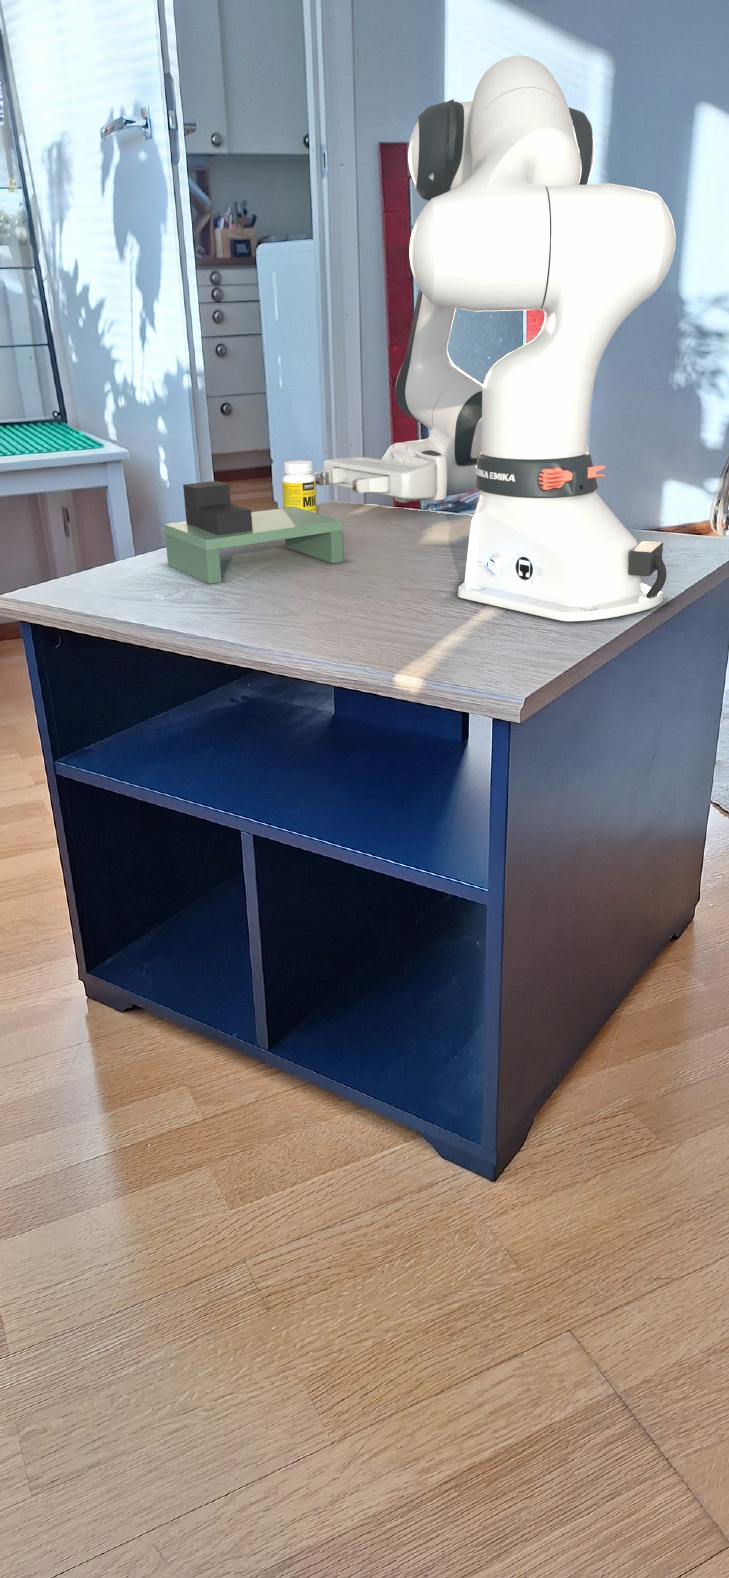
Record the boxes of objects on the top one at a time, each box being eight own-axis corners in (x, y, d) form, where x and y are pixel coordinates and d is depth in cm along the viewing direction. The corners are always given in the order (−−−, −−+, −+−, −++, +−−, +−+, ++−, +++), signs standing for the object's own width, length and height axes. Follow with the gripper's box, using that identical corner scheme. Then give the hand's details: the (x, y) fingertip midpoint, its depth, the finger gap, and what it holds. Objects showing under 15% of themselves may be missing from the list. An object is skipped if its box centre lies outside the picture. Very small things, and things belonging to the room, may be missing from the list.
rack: (343, 561, 136) (342, 520, 134) (209, 583, 127) (205, 540, 125) (295, 545, 145) (294, 506, 143) (167, 565, 137) (163, 524, 135)
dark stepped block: (252, 530, 130) (250, 490, 128) (218, 535, 128) (215, 494, 126) (219, 519, 137) (216, 480, 135) (186, 523, 135) (182, 484, 133)
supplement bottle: (307, 527, 156) (304, 465, 153) (278, 524, 158) (274, 464, 155) (323, 520, 160) (320, 460, 157) (294, 518, 162) (291, 459, 159)
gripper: (365, 444, 175) (293, 453, 167) (453, 456, 160) (378, 467, 152) (366, 485, 177) (295, 496, 170) (453, 501, 162) (379, 513, 155)
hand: (335, 482), depth 161 cm, fingers open, 8 cm apart
